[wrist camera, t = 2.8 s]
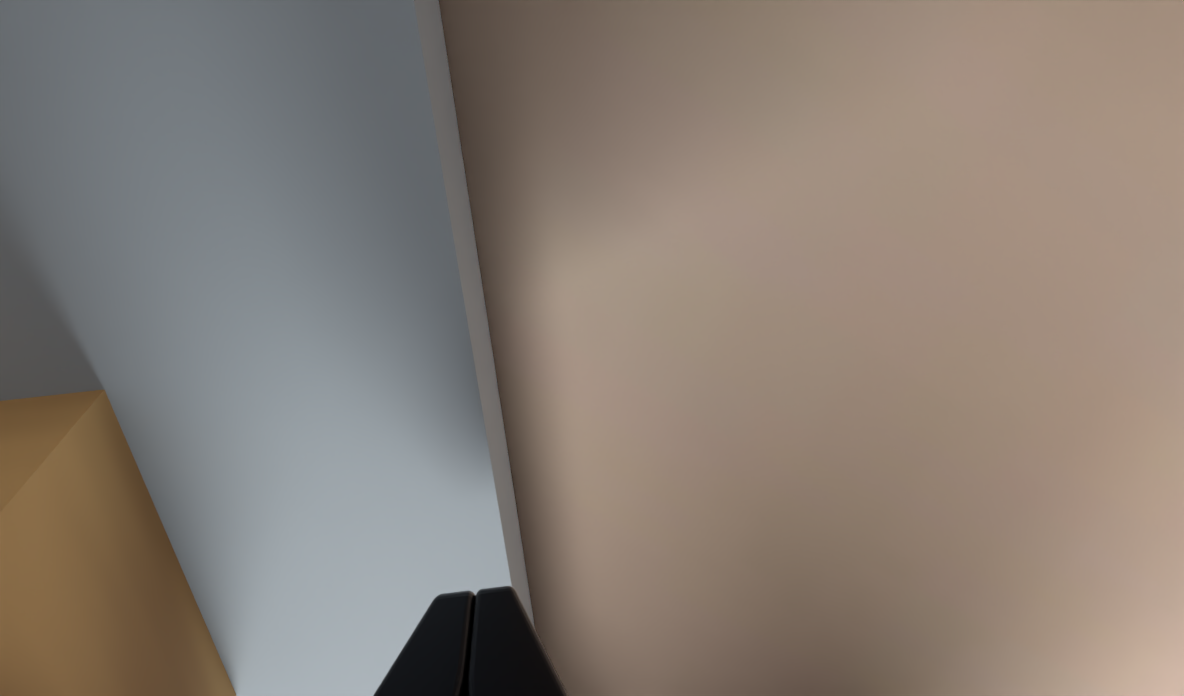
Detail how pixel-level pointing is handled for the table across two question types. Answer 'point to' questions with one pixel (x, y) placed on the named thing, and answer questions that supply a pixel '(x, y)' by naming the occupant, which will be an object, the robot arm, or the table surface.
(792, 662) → the table surface
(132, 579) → the block
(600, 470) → the table surface
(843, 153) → the table surface
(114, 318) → the box
